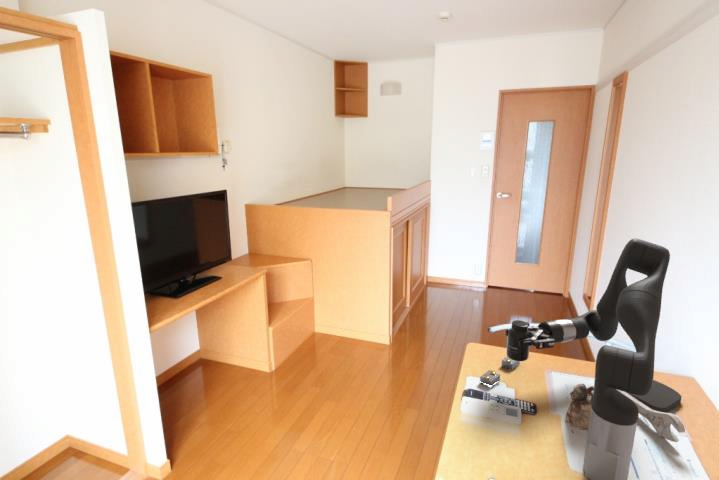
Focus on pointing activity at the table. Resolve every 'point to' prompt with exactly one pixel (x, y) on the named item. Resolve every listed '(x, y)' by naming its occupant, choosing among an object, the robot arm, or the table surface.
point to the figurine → (580, 407)
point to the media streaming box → (660, 398)
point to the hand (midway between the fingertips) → (512, 338)
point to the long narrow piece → (493, 377)
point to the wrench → (659, 419)
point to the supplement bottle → (517, 341)
